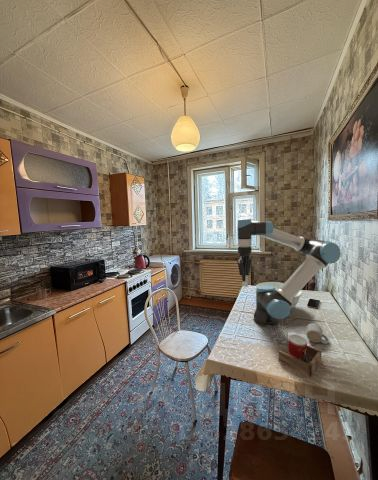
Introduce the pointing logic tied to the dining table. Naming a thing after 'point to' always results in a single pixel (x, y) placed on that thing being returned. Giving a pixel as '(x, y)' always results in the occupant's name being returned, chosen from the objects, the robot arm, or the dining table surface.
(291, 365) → the frame
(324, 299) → the dining table surface
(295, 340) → the canned food
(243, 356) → the dining table surface
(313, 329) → the ceramic mug
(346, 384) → the dining table surface
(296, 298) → the bowl
